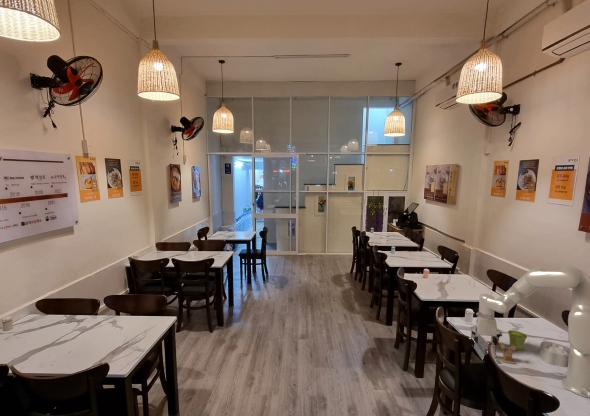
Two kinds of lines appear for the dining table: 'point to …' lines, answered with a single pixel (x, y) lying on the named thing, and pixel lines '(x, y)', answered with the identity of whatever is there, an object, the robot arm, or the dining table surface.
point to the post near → (507, 354)
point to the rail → (481, 344)
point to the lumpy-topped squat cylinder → (553, 354)
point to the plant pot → (517, 339)
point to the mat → (483, 353)
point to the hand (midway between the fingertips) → (485, 343)
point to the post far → (496, 343)
